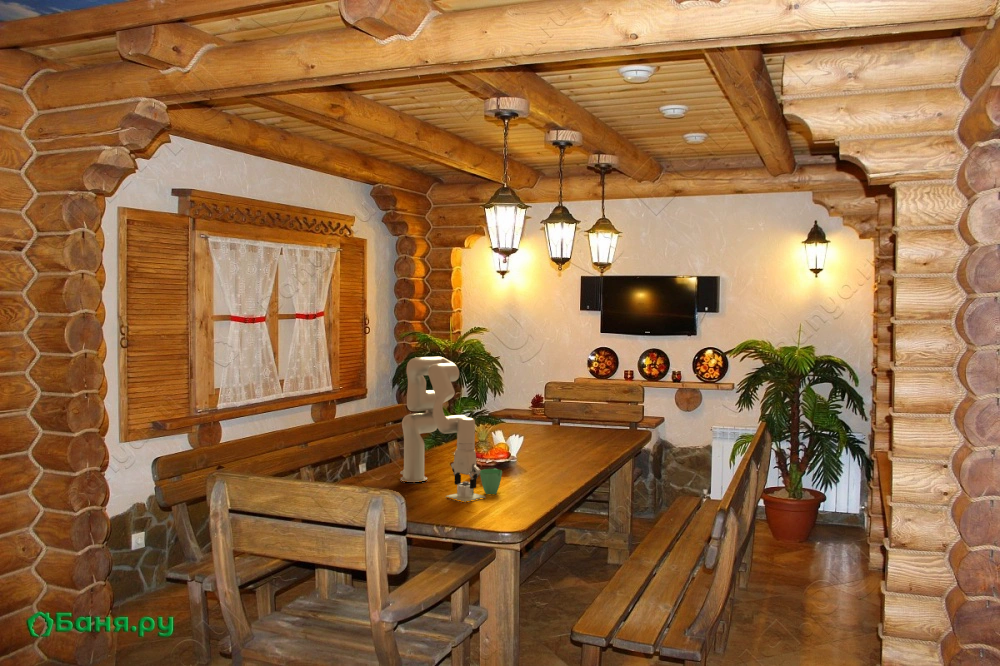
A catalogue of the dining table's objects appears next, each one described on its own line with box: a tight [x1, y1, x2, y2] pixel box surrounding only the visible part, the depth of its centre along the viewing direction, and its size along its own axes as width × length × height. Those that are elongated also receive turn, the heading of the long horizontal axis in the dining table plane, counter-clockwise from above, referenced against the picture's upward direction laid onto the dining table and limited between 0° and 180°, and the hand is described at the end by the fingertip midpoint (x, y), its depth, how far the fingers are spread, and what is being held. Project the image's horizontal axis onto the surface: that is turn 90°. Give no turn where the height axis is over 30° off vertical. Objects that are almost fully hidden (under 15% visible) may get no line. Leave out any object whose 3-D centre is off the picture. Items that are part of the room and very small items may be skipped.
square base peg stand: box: [445, 481, 486, 502], centre depth 354 cm, size 12×12×7 cm
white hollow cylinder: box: [456, 482, 475, 498], centre depth 354 cm, size 7×7×5 cm
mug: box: [479, 468, 503, 495], centre depth 365 cm, size 15×10×10 cm
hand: (465, 486), depth 354 cm, fingers open, 9 cm apart
